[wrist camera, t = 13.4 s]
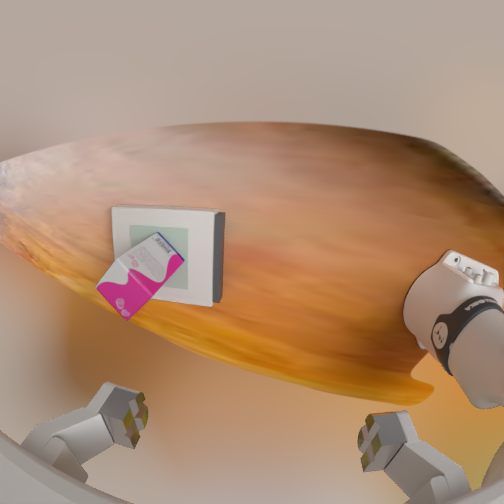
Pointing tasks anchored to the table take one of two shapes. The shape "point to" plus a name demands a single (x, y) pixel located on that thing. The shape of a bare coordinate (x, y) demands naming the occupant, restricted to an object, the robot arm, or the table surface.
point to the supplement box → (139, 274)
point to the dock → (178, 247)
